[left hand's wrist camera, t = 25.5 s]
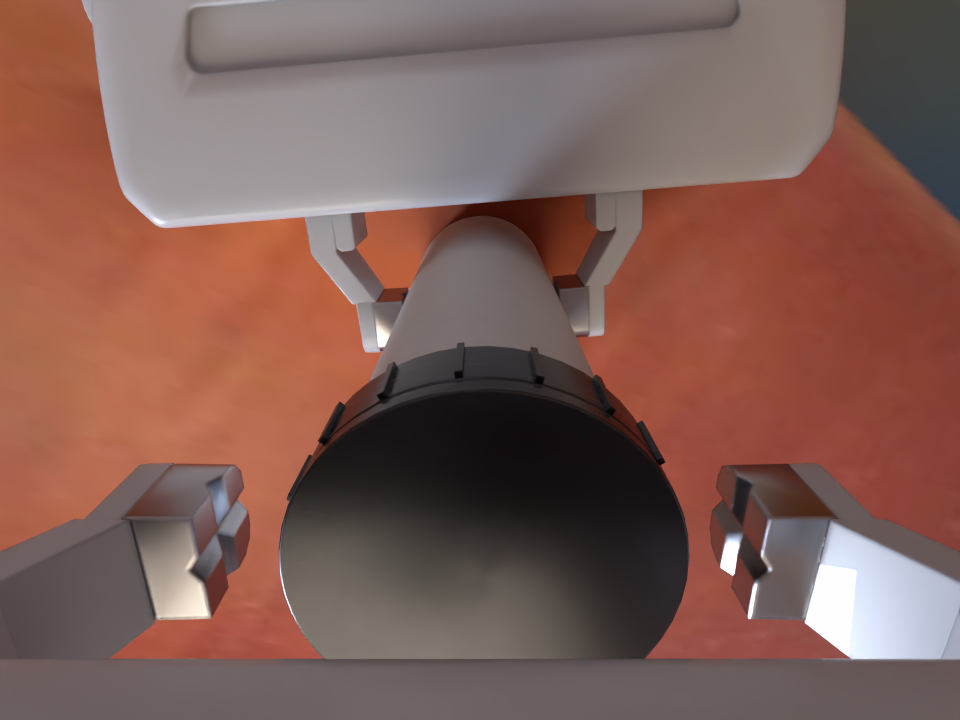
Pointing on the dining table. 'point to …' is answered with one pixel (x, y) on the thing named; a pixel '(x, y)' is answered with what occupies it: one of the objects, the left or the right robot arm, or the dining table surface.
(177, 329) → the dining table surface
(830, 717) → the left robot arm
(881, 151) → the dining table surface
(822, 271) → the dining table surface
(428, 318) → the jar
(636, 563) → the lid
